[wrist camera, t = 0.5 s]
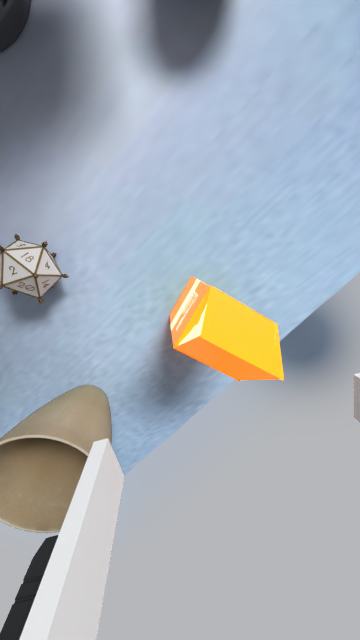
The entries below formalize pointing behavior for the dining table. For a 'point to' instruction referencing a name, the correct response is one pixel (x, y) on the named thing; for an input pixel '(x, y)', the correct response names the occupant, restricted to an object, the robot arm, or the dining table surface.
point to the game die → (28, 268)
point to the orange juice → (225, 334)
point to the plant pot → (50, 458)
